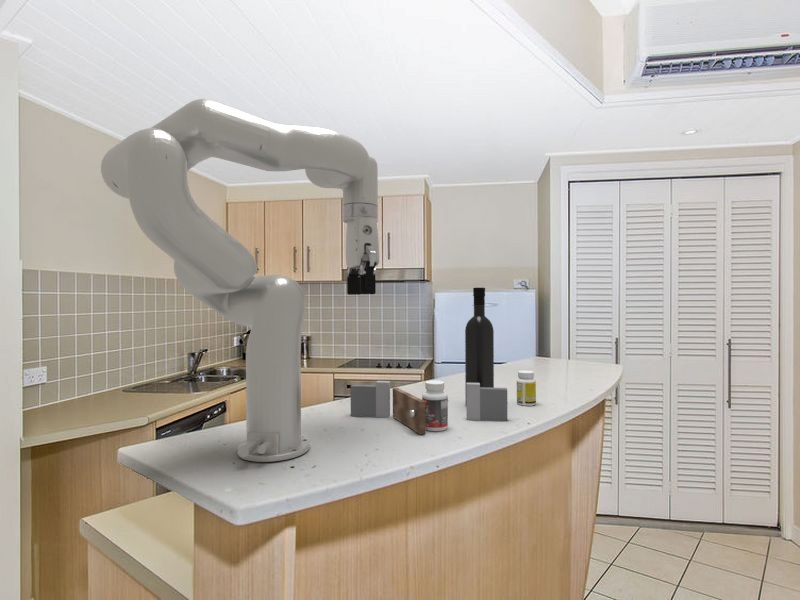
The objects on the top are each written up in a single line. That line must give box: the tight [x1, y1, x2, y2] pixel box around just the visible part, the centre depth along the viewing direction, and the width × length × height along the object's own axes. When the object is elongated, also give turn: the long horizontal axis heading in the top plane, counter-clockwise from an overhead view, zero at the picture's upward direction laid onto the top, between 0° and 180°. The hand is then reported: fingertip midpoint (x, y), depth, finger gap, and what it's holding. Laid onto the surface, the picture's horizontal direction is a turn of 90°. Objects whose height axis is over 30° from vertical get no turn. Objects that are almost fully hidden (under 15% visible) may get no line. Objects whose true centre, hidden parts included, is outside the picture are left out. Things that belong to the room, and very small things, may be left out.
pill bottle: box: [421, 379, 449, 432], centre depth 95 cm, size 5×5×10 cm
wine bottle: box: [464, 287, 495, 400], centre depth 114 cm, size 6×6×30 cm
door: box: [392, 387, 426, 435], centre depth 97 cm, size 15×2×6 cm, turn 22°
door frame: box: [350, 380, 508, 422], centre depth 104 cm, size 2×36×8 cm, turn 82°
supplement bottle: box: [516, 369, 537, 407], centre depth 117 cm, size 5×5×8 cm
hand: (360, 294), depth 98 cm, fingers open, 9 cm apart
